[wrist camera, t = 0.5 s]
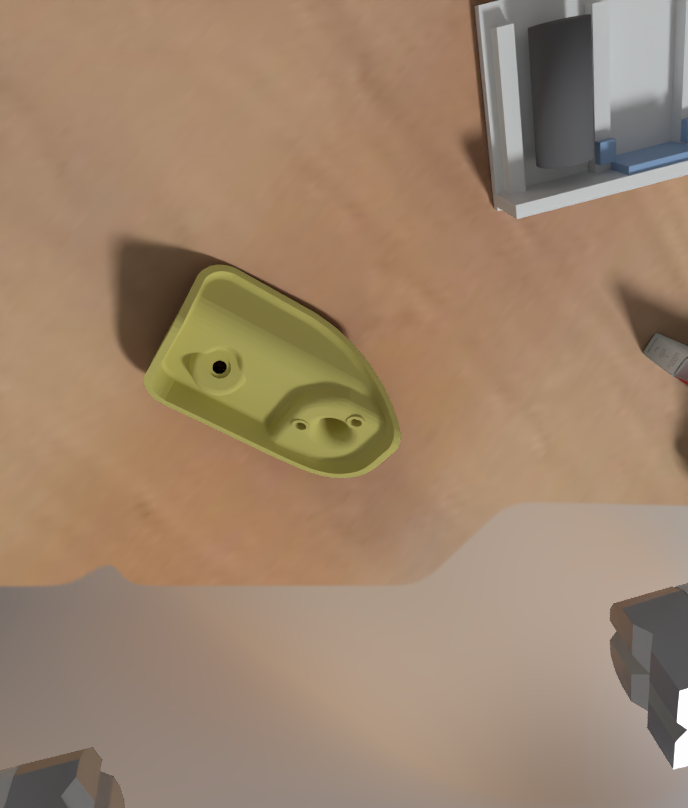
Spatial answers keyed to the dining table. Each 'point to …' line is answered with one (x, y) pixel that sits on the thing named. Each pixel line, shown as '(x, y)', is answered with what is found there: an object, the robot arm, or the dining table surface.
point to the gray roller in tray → (562, 91)
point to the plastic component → (273, 377)
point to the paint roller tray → (612, 100)
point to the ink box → (669, 356)
